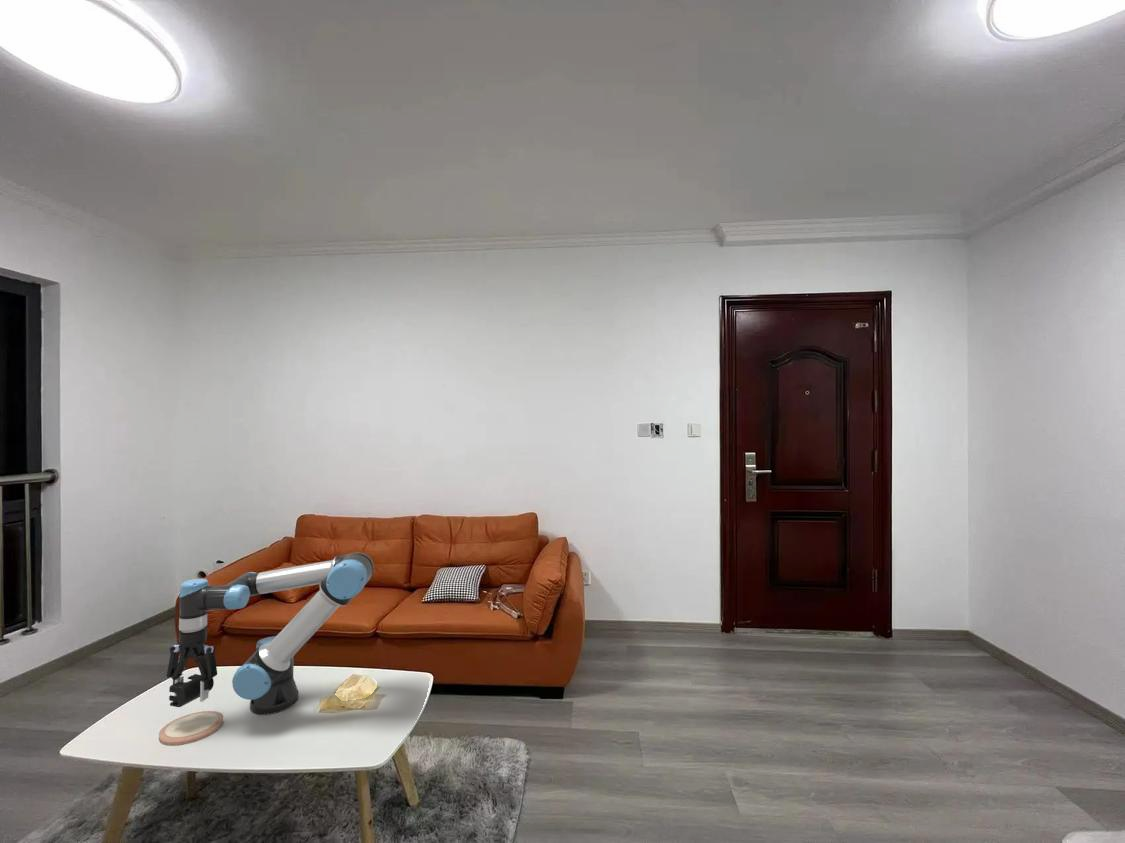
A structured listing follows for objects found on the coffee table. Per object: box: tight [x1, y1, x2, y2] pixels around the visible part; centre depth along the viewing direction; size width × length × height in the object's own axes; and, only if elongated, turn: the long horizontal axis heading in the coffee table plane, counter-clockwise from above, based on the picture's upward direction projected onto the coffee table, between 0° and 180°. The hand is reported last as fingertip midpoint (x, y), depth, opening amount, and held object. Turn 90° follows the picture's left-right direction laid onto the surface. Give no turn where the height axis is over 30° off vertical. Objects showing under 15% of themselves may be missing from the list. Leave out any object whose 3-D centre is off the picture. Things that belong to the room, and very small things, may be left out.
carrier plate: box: [158, 710, 224, 746], centre depth 167 cm, size 17×17×2 cm
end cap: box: [168, 673, 215, 708], centre depth 167 cm, size 10×7×7 cm
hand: (191, 698), depth 167 cm, fingers closed on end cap, 8 cm apart
